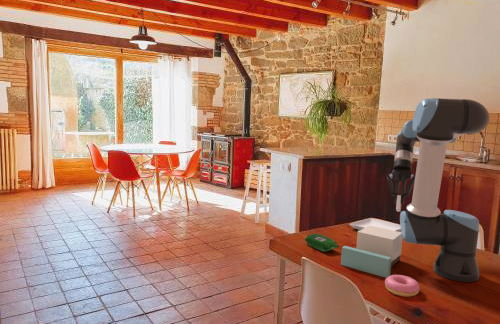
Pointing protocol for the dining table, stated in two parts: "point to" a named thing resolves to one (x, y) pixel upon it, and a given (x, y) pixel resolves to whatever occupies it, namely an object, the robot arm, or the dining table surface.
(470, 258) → the robot arm
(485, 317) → the dining table surface
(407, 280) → the doughnut
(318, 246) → the snack package
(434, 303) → the dining table surface
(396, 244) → the white box
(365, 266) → the block
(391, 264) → the roller bed
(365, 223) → the salad plate
